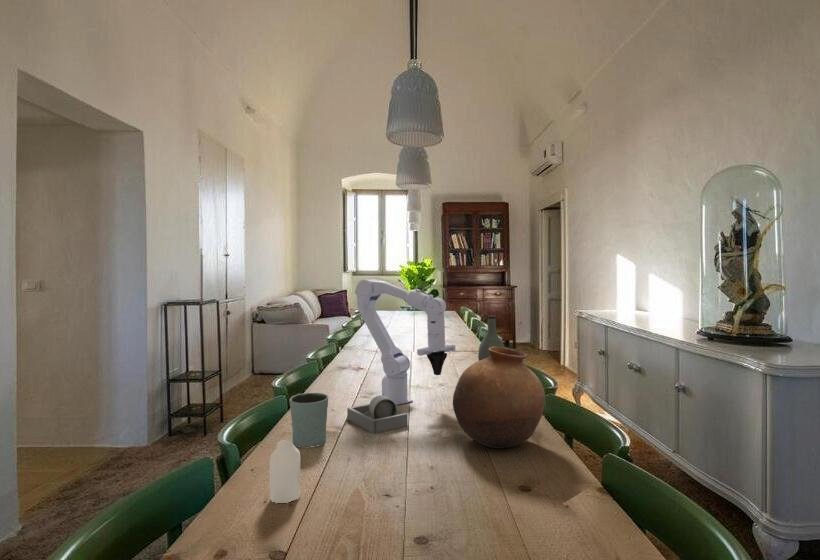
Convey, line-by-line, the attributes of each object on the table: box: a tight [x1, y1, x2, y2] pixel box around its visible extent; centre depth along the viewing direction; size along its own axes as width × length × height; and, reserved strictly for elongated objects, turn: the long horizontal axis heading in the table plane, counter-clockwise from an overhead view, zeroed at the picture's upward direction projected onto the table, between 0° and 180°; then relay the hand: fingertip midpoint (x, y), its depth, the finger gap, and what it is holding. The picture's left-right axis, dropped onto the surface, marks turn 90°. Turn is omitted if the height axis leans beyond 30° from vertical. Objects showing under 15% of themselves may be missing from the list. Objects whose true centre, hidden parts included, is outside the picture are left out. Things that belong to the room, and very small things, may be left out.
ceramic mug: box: [364, 394, 399, 420], centre depth 145 cm, size 11×8×8 cm
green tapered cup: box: [289, 392, 329, 448], centre depth 128 cm, size 10×10×12 cm
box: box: [346, 403, 409, 434], centre depth 144 cm, size 16×12×4 cm
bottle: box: [477, 314, 506, 361], centre depth 160 cm, size 9×9×30 cm
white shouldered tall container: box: [269, 439, 302, 504], centre depth 97 cm, size 6×12×6 cm
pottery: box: [452, 347, 546, 449], centre depth 125 cm, size 23×23×25 cm
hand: (437, 374), depth 161 cm, fingers closed
